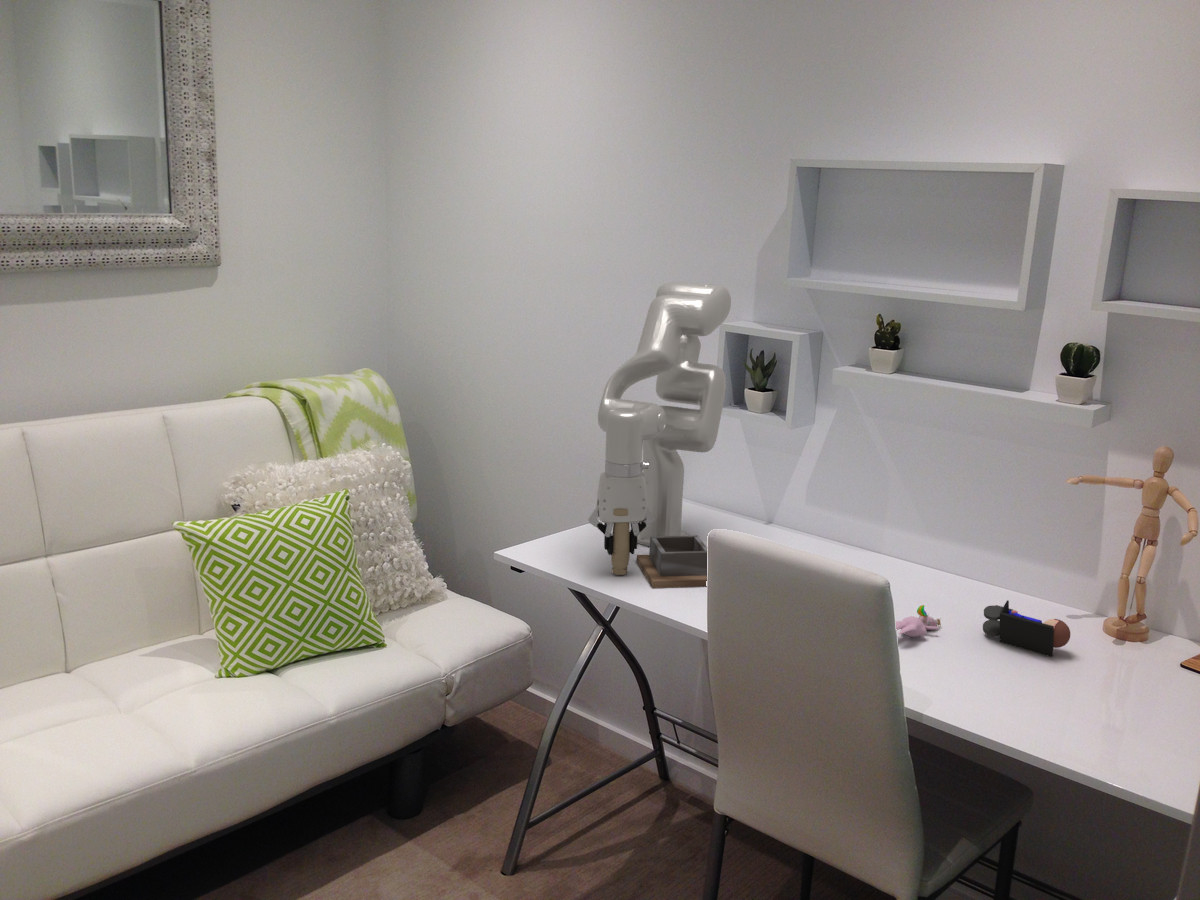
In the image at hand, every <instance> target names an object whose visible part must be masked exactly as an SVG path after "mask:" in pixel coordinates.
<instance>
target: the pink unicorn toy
mask: <svg viewBox="0 0 1200 900" xmlns="http://www.w3.org/2000/svg"><path fill="white" fill-rule="evenodd" d="M916 613H917V615H918V617H917V616H912V615H911V616H910V615H909V616H907V617H905V618H903V619H902V620H899V621H898V620H896V621H895V622H896V629H897V630H896V631H898V630H900V631H899V633H898V635H903V634H905V635H906V636H908V637H909V636H910V637H911V638H917V637H922V636H925V635H926V634H927V631H936V630H939V628H940V627H942V626H941V624H942V623H941V618H938V617H937V618H936V619H935V618H933V617H932V616H929V614H927V611H926V610H925V604H922V605H920V606H919V607H918V608H917V610H916Z"/></svg>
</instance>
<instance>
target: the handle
mask: <svg viewBox="0 0 1200 900" xmlns="http://www.w3.org/2000/svg"><path fill="white" fill-rule="evenodd" d="M613 514H614V515H615V516H628V509H614V510H613ZM630 530H631V526H630V523H613V527H612V532H611V533H612V537H613V554H612V555H610V559H611V560H610V561H611V566H612V567H611V572H612V573H613V574H614V575H616V576H621V575H622V576H625V575H627V573H628V571H629V567H628V565H629V561H630V554H631V553H630Z"/></svg>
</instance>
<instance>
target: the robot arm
mask: <svg viewBox="0 0 1200 900" xmlns="http://www.w3.org/2000/svg"><path fill="white" fill-rule="evenodd" d="M656 290H657V291H656V293H655V294H656V295H655V298H654V299H653V300H652V301H651V303H650V305H649V307H648V310H647V314H646V318H645V321H644V325H643V328H642V331H641V335H640V339H639V343H638V345H637V349H636V353H635V354H633V356H632V357H630V358H629V359H627V360H626V361H625V362H623V364H621V365H620V366H619V367H618V368H616V370H615V371H614V372H613V373H612V374H611V376H610V377H609V378H608V380H607V382H606V383H605V386H604V389H603V394H602V396H601V399H600V402H599V406H598V412H597V424H598V426H599V427H600V429H601V431H603V432H605V454H604V455H605V459H604V467H605V468H604V471H603V472H601V473H600V477H599V481H598V487H597V494H596V495H597V497H596V507H595V509H594V510H593V511H592V513H591V514H590V515H589V517H588V518H587V521H588V523H589V524H590V525H592V526H593V527H595V528H597V530H599V531H600V532H601V533H602V534H603V535H604V536H603V537H604V538H603V539H604V542H603V543H604V545H603V548H604V550H605V551H606V553H607V554H608V556H611V555H612V554H613V537H612V533H613V523H629V526H630V554H631V555H635V550H637V549H638V544H641V545H643V546H646V547H650V536H688V534H687V533H686V532H684V531H682V518H683V497H684V484H685V483H684V481H685V480H684V479H685V478H684V477H685V466H684V462H683V459H682V458H681V456H680V454H679V452H678V451H686V452H693V453H708V452H710V451H711V450H712V449H713V448H714V446H715V445H716V442H717V438H718V433H719V429H720V422H721V418H722V412H723V406H724V403H725V396H726V389H727V379H726V374H725V372H724V370H723V369H722V368H721V367H720V366H718V365H716V364H709V363H702V362H701V363H700V362H699V359H700V353H701V345H702V343H701V340H700V338H699V337H706V336H709V335H711V334H712V333H714V332H715V330H716V329H717V328H719V326H720V325H722V324H723V323H724V322H725V320H726V319H727V317H728V316H729V313H730V311H731V307H732V298H731V294H730V291H729V290H728V288H726V286H723V285H719V284H708V283H694V282H683V281H682V282H681V281H677V282H675V281H674V282H667V283H666V282H665V283H663V284H661V285H659V287H658V289H656ZM655 376H657V377H656V381H655V382H656V383H655V392H656V395H657V396H658V398H659V399H661V400H663V401H665V402H669V403H676V404H685V405H686V404H687V405H692V406H693V405H694V406H699V409H696V408H688V407H687V408H686V407H681V406H680V407H679V406H671V405H659V404H657V403H653V402H649V401H647V402H646V401H639V400H631V399H630V400H629V399H621V398H622V397H623V394H624V393H625V392H626V391H627V390H628V389H629V388H630V387H632V386H633V385H635V384H636V383H638V382H640V381H643V380H646V379H649V378H652V377H655ZM614 509H628V516H615V515H614V514H613V510H614Z"/></svg>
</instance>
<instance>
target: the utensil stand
mask: <svg viewBox="0 0 1200 900" xmlns="http://www.w3.org/2000/svg"><path fill="white" fill-rule="evenodd" d="M707 548H708V546H707V545H706V544H705V542H704V541H703V540H702V539H701V538H700V536H699V535H687V536H650V546H649V554H636V559H635V560H636V563H637V564H638V566H639V568H640V570H641V572H642V573H643V575H644V577H645V578H646V580H647V582H648V583H649V585H650V587H651V588H652V589H670V588H672V589H673V588H698V587H699V588H703V587H704V586H705V587H706V581H707ZM701 586H702V587H701Z"/></svg>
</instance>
